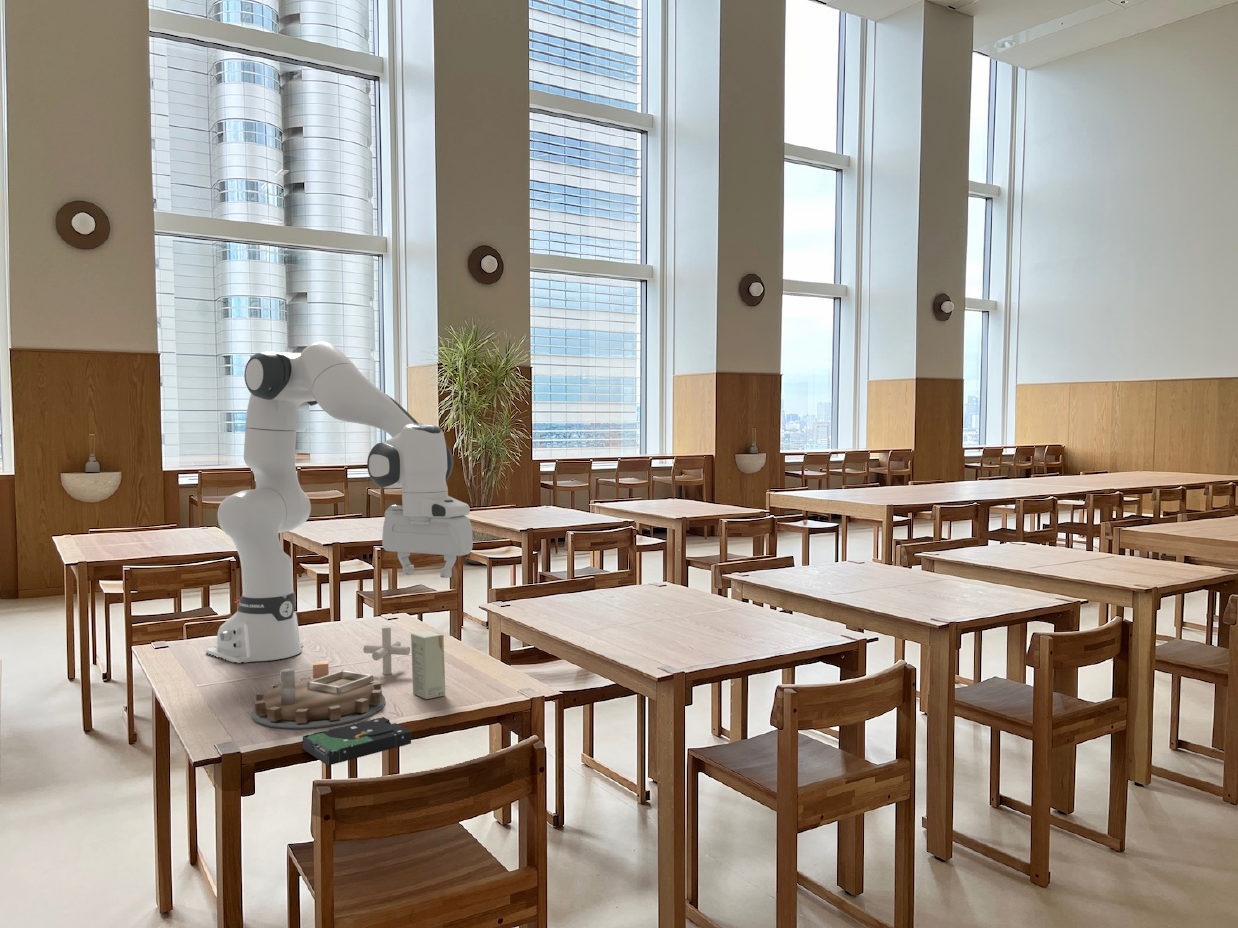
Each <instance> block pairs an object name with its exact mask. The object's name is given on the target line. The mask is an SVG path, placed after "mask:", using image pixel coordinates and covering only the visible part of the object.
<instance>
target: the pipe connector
mask: <svg viewBox="0 0 1238 928" xmlns="http://www.w3.org/2000/svg"><path fill="white" fill-rule="evenodd" d="M391 631H392V629H391V626H390V625H387V626H386V625H385V626H382V627H381V639H382V643H381V644H382V645H379V644H364V645H363V648H362V649H363V653H364V654H371V657H372V659H373V660H374V661H379V660H381V659H382V674H383V675H390V674H392V672H393V671H392V670H393V669H392V655H398V656H399V655H400V656H409V655H410V652H411V647H410V646H405V645H404V646H403V645H402V644H401V642H400V641H399V640H394V641H393V642H392V632H391Z"/></svg>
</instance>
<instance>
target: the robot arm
mask: <svg viewBox="0 0 1238 928" xmlns="http://www.w3.org/2000/svg"><path fill="white" fill-rule="evenodd" d="M243 377H244V382H245V385H246V387H247V390H248V392H249V393H250V396H249V401H248V405H247V409H246V416H245V417H246V418H245V429H244V430H245V431H244V442H243V444H244V446H243V461H244V463H245V465H246V466H247V467H248V468H250V470H251V472H252V473H253V476H254V480H255V488H254V489H244V490H241V491H238V492H236V493H233V494H231V495H229V496H227V497H225V498H224V499H223V500H222V501H221V502H220V504H219V506H218V508H217V523H218V526H219V527H220V529H221V530H222V532H223V533H225V534H226V535H227V536H228V537H229V538H230V539H231V540H232V542H233V544H234V545H235V549H236V550H237V554H238V557H239V561H240V567H241V584H242V585H241V587H242V594H241V596H238V597H235V598H234V600H236V601H234V603H235V604H237V603H238V606H237V609H236V610H237V611H236V612H235V613H234V614H233V615H231V616H230V617H229V618H228V619H227V620H226V621H225V622H224V623H222V624H221V625H220V626H219V627H218V630H217V636H216V638H217V639H216V644H215V645H213V646H210V647H208V648H206V651H205V653H209V654H211V655H210V656H212V655H214V656H213V657H215V656H216V658H218V657H222V658H224V659H223V660H225V659H226V660H225V661H228V662H231V663H234V662H237V663H236V664H242V663H241V662H244V663H250V662H251V663H252V662H268V661H275V660H280V659H287V658H290V657H293V656H296V655H298V654H301V653H302V651H303V649H302V648H303V640H300V631H299V624H298V623H299V621H298V616H297V612H295V608H296V601H297V599H296V592H295V591H294V575H293V574H294V571H293V570H294V569H293V568H294V567H293V560H292V558H291V556H290V555H289V554H287V553H286V552H285V551H284V550H283V547H282V545H281V542H280V538H279V533H285V532H290V531H292V530H294V529H296V528H298V527H300V526H303V524H305V523H306V522H307V520H308V519H309V517H310V515H311V511H312V505H311V504H312V503H311V500H310V499H309V496H308V495H307V494H306V492H304V490H303V489H302V487H301V484H300V481H299V478H298V473H297V469H296V468H297V467H296V445H297V444H296V443H297V425H298V424H297V422H298V420H297V416H298V415H297V414H298V410H299V407H301V405H303V404H304V403H307V404H308V405H309V406H310V407H312V406H316V405H318V406H319V407H320V409H322V410H323V411H324V412H325V413H326V414H328V415H329V416H331V417H332V418H333V419H335V420H337V421H342V422H347V423H351V424H352V423H353V424H354V423H355V424H359V425H365V426H370V427H374V428H377V429H379V430H382V431H384V432H385V433H387V434H388V435H390V437H391V438H389V439H387V440H385V441H382V442H378V443H376V444H375V445H373V446H372V448H371V449H370V452H369V453H368V456H367V460H366V465H367V466H366V467H367V472H368V475H369V478H370V480H371V481H372V482H373V483H374V484H375V485H376V486H377V487H379V488H383V489H384V488H385V489H398V488H399V489H401V488H402V490H401V496H402V497H401V498H402V499H401V500H402V501H401V502H402V505H398V504H397V505H396V504H392V505H389V507H387V508H386V510H385V511H384V519H383V520H384V522H383V526H382V538H381V539H382V542H381V543H382V544H381V545H382V548H383V549H384V551H386V552H393V553H395V552H397V559H398V561H399V562H400V564H401V566H402V574H403V575H405V576H411V575H414V574H415V565H414V564H411V560H410V558H409V557H410V556H411V553H413V554H425V555H441V556H443V560H444V561H445V564H444V566H443V567H442V568H439V572H440V575H439V576H440V578H441V579H442V578H444V579H449V578H451V577H452V576H453V574H452V573H453V572H452V571H453V567H454V565H455V564H456V562H457V559H458V558H457V557H461V556H462V557H463V556H466V555H469V554H470V553H471V552H472V550H473V546H474V544H473V543H474V542H473V540H474V539H473V527H472V523H471V520H470V518H469V517H468V515H469V514H470V513H471V512H470V509H471V508H470V505H469V504H468V503H466V502H463V501H461V500H458V499H456V498H454V497H452V496H451V495H449V489H448V488H449V487H448V485H447V480H448V479H449V478H450V477H451V474H452V472H453V469H454V457H453V454H452V451H451V449H450V447H448V446H449V445H447V443H446V439H445V435H444V431H443V429H441V428H440V427H439V426H436V425H434V424H428V423H426V424H425V423H420V422H418V421H417V420H416V419H415V418H414V417H413V416H412V415H411V414H410V413H409V412H408V411H407V410H406V409H405V408H404V407H403V406H402V405H401V404H400V403H398V401H396V400H395V399H394V398H392V397H391V396H389V395H388V394H386V393H385V392H384V391H382V390H381V389H380V388H379V387H377V386H376V385H374V384H373V383H372V382H371V381H370V380H368V379H367V378H366V377H365V376H364V375H363V373H362V372H361V371H360V370H359V369H358V368H357V366H356V365H355V364H354V363H353V362H352V361H351V359H350V358H349V357H347V355H345V354H344V352H342V351H341V350H340V349H338V347H336V346H335V345H333V344H332V343H329V342H326V341H319V342H318V341H317V342H314V343H311V344H309V345H308V346H305V348H304V349H303V350H302V351H301V352H276V351H271V350H270V351H261V352H256V353H255V354H253V355H252V356H250V358H249V360H248V361H247V362H246V365H245V368H244V376H243ZM209 654H208V655H209Z"/></svg>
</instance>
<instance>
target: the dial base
mask: <svg viewBox="0 0 1238 928" xmlns="http://www.w3.org/2000/svg"><path fill="white" fill-rule="evenodd" d="M385 705H386V698H385V695H383V694H382V701H381V703H380V704H371V705H369V711H366V712H364V713H358V712H354V713H351V714H348V715H344V716H341V719H338V720H332V721H331V720H330V719H329V718H328V719H320V720H308V722H307V723H296V720H283V719H281V720H278V721H275V722H273V721H268V720H267V715H266V714H261V715H256V714H255V713H254V707H253V708H252V710H251V719H252V720H253V721H254V722H255V723H257V724H258V725H261V726H263V727H268V728H272V729H281V730H311V729H323V728H330V727H337V726H341V725H346V724H350V723H354V722H357V721H361V720H364V719H367V718H368V717H369V718H370V716H373V715H375V714H378V712H379V711H382V709H383V708H384V707H385Z"/></svg>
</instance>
